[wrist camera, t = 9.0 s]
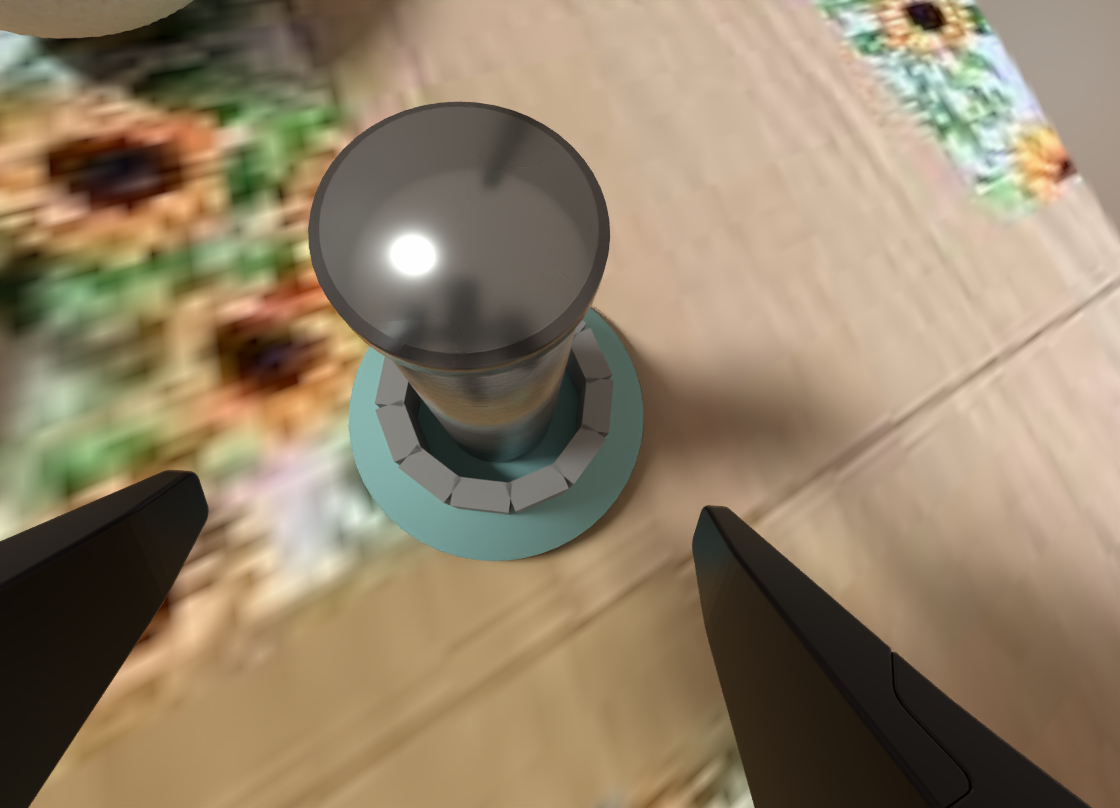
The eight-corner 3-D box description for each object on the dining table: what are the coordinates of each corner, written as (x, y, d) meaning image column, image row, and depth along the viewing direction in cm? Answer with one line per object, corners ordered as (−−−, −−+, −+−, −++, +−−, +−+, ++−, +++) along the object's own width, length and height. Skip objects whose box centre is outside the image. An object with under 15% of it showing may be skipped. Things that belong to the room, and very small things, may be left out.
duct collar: (412, 612, 19) (391, 627, 16) (317, 339, 22) (282, 305, 18) (686, 487, 21) (715, 479, 18) (571, 250, 24) (579, 206, 20)
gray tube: (503, 492, 20) (470, 429, 7) (414, 414, 20) (238, 227, 8) (581, 404, 21) (669, 215, 8) (494, 331, 21) (455, 49, 9)
